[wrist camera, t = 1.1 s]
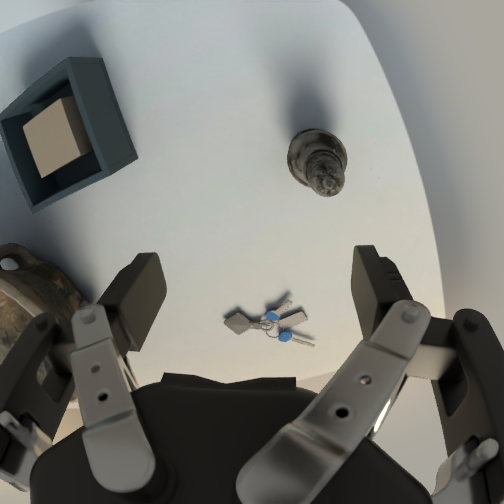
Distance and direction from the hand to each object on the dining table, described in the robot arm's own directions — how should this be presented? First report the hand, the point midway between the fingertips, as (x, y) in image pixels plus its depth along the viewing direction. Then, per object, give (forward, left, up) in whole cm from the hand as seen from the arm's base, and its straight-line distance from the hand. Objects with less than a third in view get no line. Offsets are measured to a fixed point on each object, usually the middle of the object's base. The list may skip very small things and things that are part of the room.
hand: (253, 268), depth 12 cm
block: (-11, -22, -22) cm, 33 cm away
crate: (-11, -22, -23) cm, 33 cm away
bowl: (+10, -41, -23) cm, 48 cm away
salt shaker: (+1, +4, -23) cm, 23 cm away
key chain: (+22, -6, -23) cm, 32 cm away
